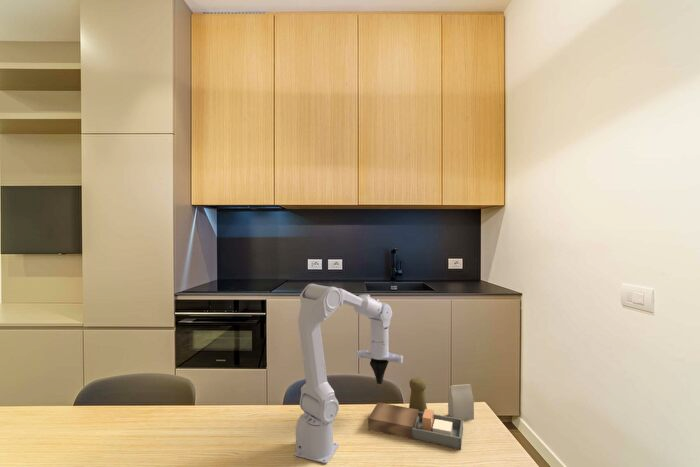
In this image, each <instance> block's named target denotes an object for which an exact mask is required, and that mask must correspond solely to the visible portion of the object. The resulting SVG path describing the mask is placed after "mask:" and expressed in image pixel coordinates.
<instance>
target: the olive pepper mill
mask: <svg viewBox="0 0 700 467" xmlns="http://www.w3.org/2000/svg"><path fill="white" fill-rule="evenodd" d="M408 383H409V388H410V397H409V405H408V408H412V409H418V410H419V411H420V412H424V411H425V409H428V407H427V399H426V393H425V391H426V388H427V382H426V381H425V379H424V378H421V377H416V376H415V377H411V379H410V380H409V382H408Z"/></svg>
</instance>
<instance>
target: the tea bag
mask: <svg viewBox="0 0 700 467" xmlns="http://www.w3.org/2000/svg"><path fill="white" fill-rule="evenodd" d="M474 401H475V400H474V393H473V390H472V384H470V383H469V384H466V383H465V384H454V385H449V390H448V395H447V412H448V417H453V418H458V419H463V421H469V420H470V421H471V420H474V419H475V406H474V405H475V402H474Z"/></svg>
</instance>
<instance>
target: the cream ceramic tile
mask: <svg viewBox="0 0 700 467" xmlns="http://www.w3.org/2000/svg"><path fill="white" fill-rule="evenodd" d="M452 431H453V422H449V421H443V420H438V419H435V420H434V424H433V432H436V433H441V434H446V435H451V436H452Z"/></svg>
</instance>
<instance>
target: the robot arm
mask: <svg viewBox="0 0 700 467" xmlns="http://www.w3.org/2000/svg"><path fill="white" fill-rule="evenodd" d="M299 299H300V310H299V313H298V318H297V323H298V324H297V325H298V332H299V338H300V339H299V340H300V345H301V346H300V347H301V353H302V360H303V369H304V376H305V383H304V384H303V385H302V386H301V388H300V393H301V394H300V398H299V407H300V409H301V411H303V413H302V414H300V415H299V417H298V419H297V422H296V426H295V452H294V453H293V454H294V456H295V457H299V458H303V459H307V460H310V461H314V462H318V463H322V464H328V463H329V461H330V459H332V457H333V455H334V454H335V453H336V451H337V449H339V446H340V444H339V443H337V442H334V427H333V426H334V421H335V419H336V417H337V415H338V412H339V410H340V403H339V401H338V399H337V397H336V394H335V390H334V389H333V387H332V386H331V385H330V383H329V382H328V377H327V371H326V370H327V368H326V361H325V360H326V359H325V353H324V345H323V337H322V328H321V324H322V323H323V322H325V321H326V320H327V319H329V317H330V316H331V315H332V314H333V313H335V311H336V310H337V309H338V308H339V307H340V306H343V304H344V305H347V306H350V307H352V308H353V310H354V311H355V312H356V314H359V315H362V316H365V317H366V318H368V319H370V323H369V325H370V330H369V331H370V350H366V349H365V350H363V349H362V350H361V349H360V350H358V351H357V352H356V353H357V355H356V358H357V359H361V358H362V359H368V360H370V361H369V366H370V367H371V369H372V372H373V373H374V377H375V380H376V384H379V385H382V383H383V382H384V375H385V372H386V369H387V367H388V365H389V363H390V362H393V363H398V364H403V362H404V356H403V355H402V354H397V353H392V352H389V350H390V348H389V345H390V344H389V342H390V341H389V337H390V336H389V327H390V325H391V320H392V317H393V310H392V308H391V306H390V304H388V303H386V302H380V299H378V298H372V297H371V294H368V293H363V294H359V295H358V296H357V295H356V294H354V293H352V292H349V291H347V290H346V289H343V288H338V287H336V286H326V285H320V284H316V283H309V284H307V285H306V286H305V287H304V289H303V290H302V291H301V293H300V295H299Z"/></svg>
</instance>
